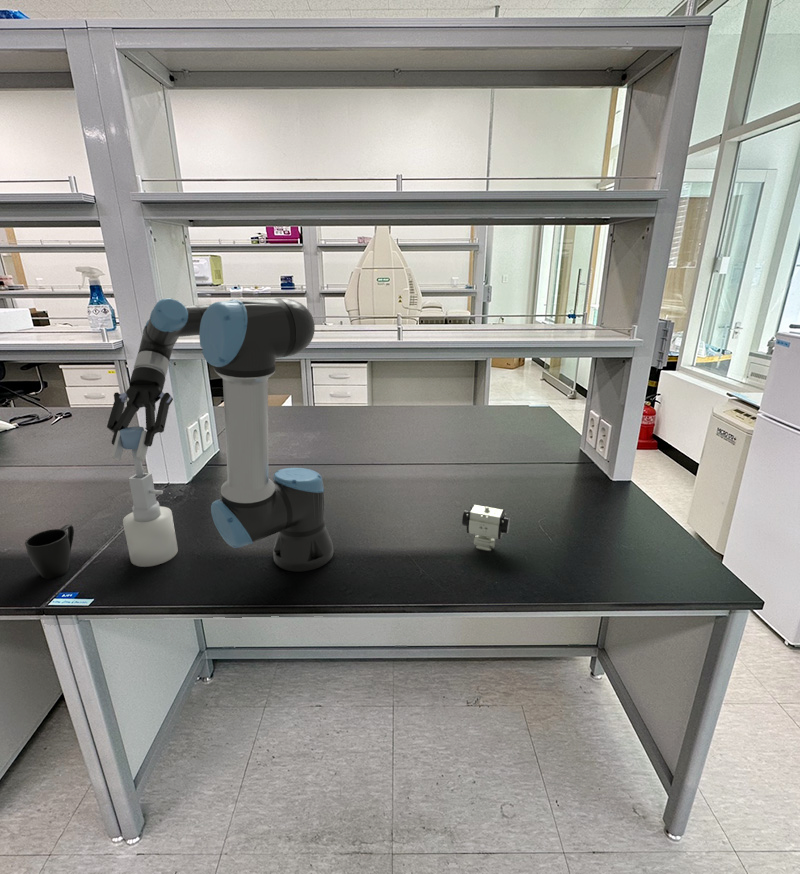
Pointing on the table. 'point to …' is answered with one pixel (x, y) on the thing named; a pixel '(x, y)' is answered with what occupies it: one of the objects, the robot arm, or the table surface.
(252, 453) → the robot arm
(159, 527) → the bottle
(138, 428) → the plunger
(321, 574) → the table surface
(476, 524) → the pneumatic valve
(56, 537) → the mug
